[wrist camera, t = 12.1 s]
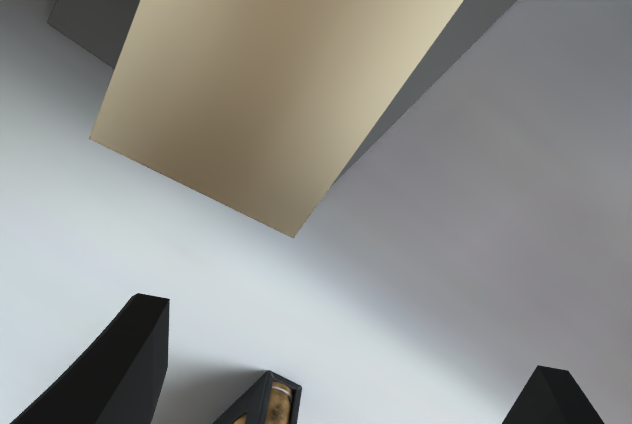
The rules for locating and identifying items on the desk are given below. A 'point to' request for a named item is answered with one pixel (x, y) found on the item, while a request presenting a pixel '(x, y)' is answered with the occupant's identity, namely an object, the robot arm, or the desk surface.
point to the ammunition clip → (265, 403)
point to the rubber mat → (454, 40)
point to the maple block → (261, 93)
